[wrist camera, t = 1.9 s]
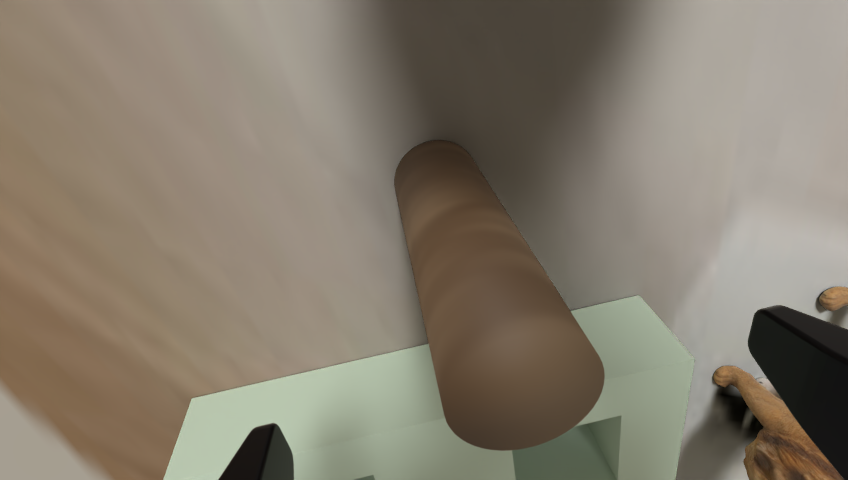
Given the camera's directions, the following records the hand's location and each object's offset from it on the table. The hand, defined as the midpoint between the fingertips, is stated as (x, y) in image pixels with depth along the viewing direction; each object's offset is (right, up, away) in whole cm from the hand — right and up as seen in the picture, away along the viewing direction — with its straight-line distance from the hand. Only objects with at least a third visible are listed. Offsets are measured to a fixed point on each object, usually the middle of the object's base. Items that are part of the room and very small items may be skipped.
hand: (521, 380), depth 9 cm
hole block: (-1, -6, +14) cm, 16 cm away
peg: (-1, +5, +8) cm, 10 cm away
